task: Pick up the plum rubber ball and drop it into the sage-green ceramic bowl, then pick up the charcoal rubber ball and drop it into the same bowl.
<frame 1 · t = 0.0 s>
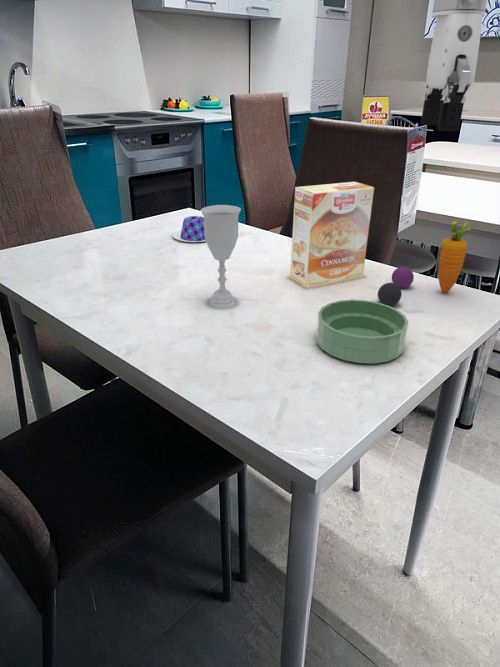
hand: (438, 127, 84), 32 cm above the table, tool pointing down, fingers open, 9 cm apart
charcoal ball: (387, 304, 97), on the table
pudding: (195, 238, 135), on the table
carrot: (444, 294, 103), on the table
plum ball: (401, 287, 105), on the table
chalice: (222, 304, 97), on the table
coffeecake box: (326, 279, 110), on the table
bowl: (359, 344, 83), on the table
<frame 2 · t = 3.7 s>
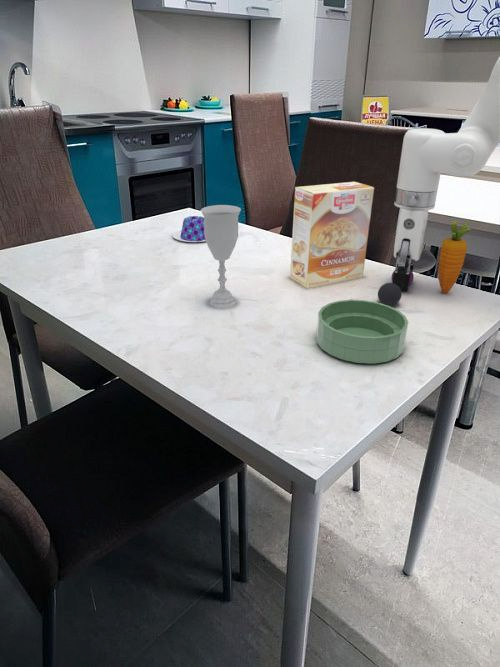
hand: (401, 285, 105), 0 cm above the table, tool pointing down, fingers closed on plum ball, 4 cm apart
plum ball: (400, 287, 105), on the table, touching gripper
everything else where it was.
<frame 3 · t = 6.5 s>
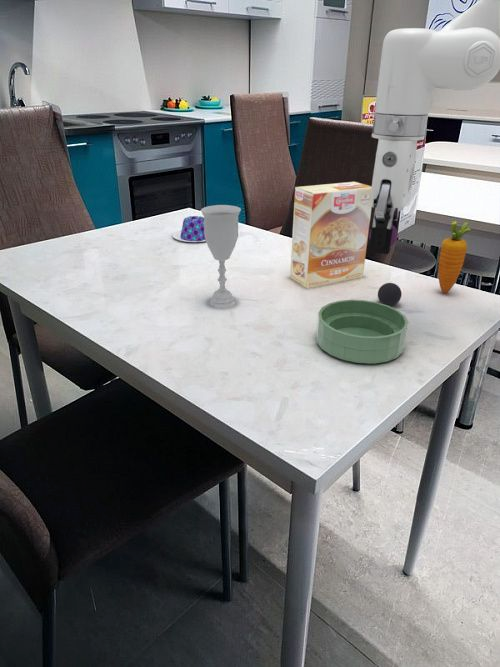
hand: (382, 246, 82), 15 cm above the table, tool pointing down, fingers closed on plum ball, 4 cm apart
plum ball: (381, 248, 82), point 14 cm above the table, touching gripper
everything else where it was.
when the fingers open (4 cm above the table, at t = 9.8 s): plum ball drops 3 cm, resting on bowl.
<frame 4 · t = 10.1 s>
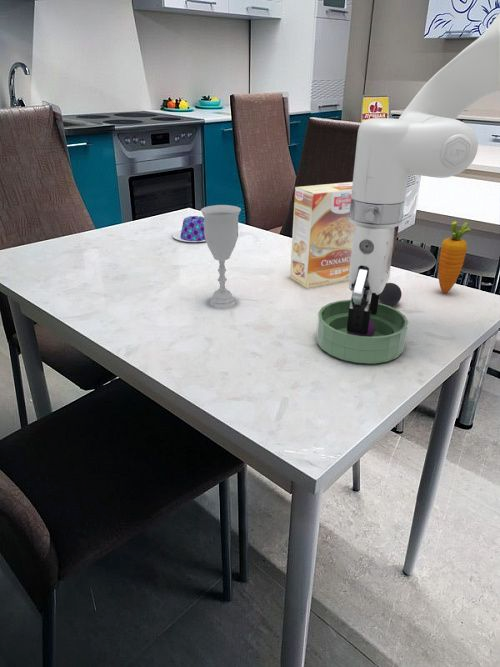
hand: (362, 321, 81), 4 cm above the table, tool pointing down, fingers open, 7 cm apart
plum ball: (359, 341, 83), point 1 cm above the table, touching bowl
everything else where it was.
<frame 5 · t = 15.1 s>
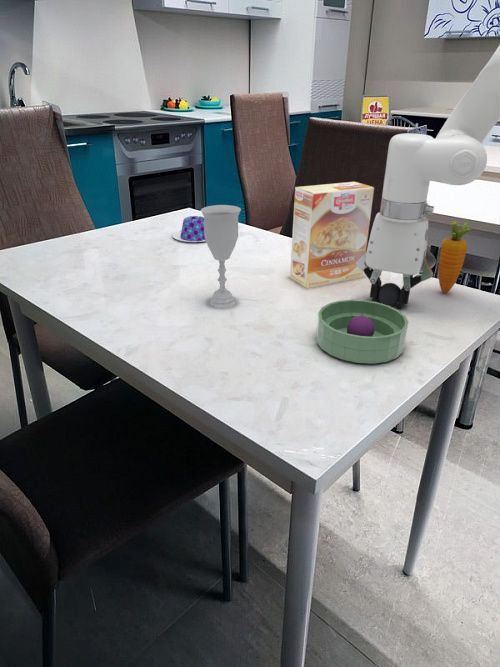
hand: (388, 303, 97), 0 cm above the table, tool pointing down, fingers closed on charcoal ball, 4 cm apart
charcoal ball: (387, 304, 97), on the table, touching gripper
everything else where it was.
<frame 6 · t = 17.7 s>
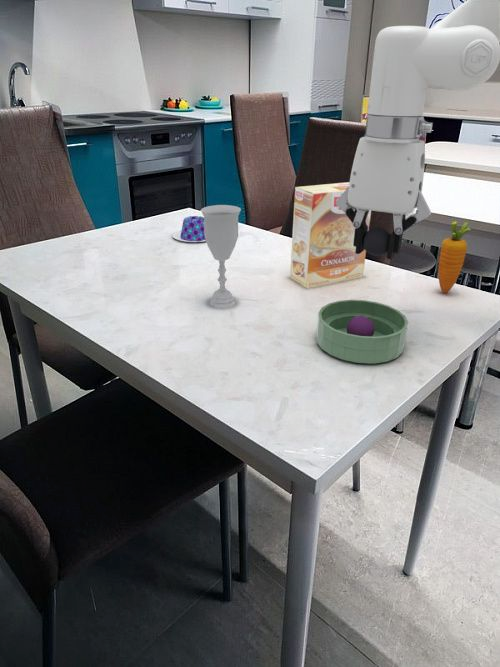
hand: (375, 253, 79), 15 cm above the table, tool pointing down, fingers closed on charcoal ball, 4 cm apart
charcoal ball: (375, 255, 79), point 14 cm above the table, touching gripper
everything else where it was.
when the fingers open (5 cm above the table, at t = 20.5 s): charcoal ball drops 2 cm and tips over, resting on bowl.
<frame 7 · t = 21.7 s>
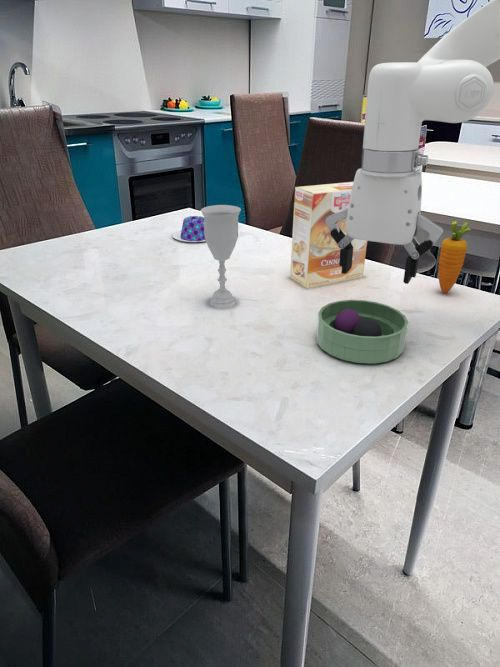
hand: (376, 275, 79), 11 cm above the table, tool pointing down, fingers open, 9 cm apart
charcoal ball: (358, 324, 82), point 3 cm above the table, tilted 108°, touching bowl
plum ball: (357, 330, 83), point 2 cm above the table, tilted 76°, touching bowl
everything else where it was.
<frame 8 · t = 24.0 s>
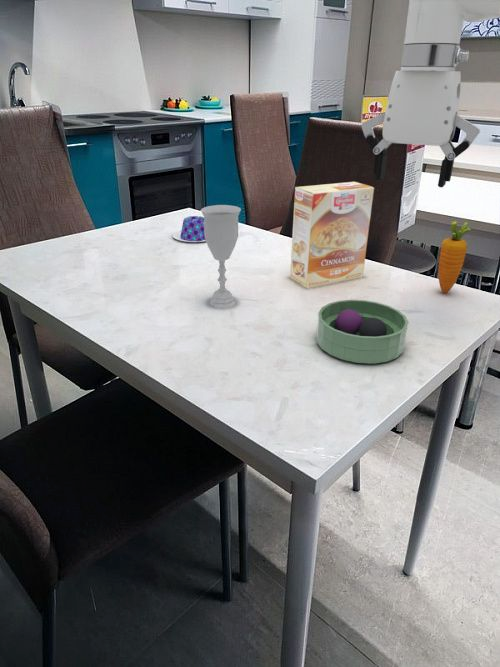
hand: (409, 182, 80), 24 cm above the table, tool pointing down, fingers open, 9 cm apart
charcoal ball: (365, 322, 82), point 3 cm above the table, tilted 107°, touching bowl
everything else where it was.
at the end: plum ball inside the target area in the bowl (0.9 cm from its centre), point 2.1 cm above the bowl's base; charcoal ball inside the target area in the bowl (1.7 cm from its centre), point 3.4 cm above the bowl's base; the gripper is holding nothing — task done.
